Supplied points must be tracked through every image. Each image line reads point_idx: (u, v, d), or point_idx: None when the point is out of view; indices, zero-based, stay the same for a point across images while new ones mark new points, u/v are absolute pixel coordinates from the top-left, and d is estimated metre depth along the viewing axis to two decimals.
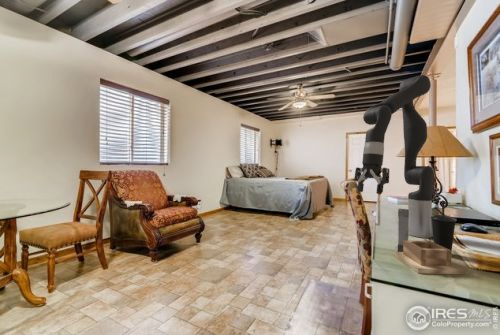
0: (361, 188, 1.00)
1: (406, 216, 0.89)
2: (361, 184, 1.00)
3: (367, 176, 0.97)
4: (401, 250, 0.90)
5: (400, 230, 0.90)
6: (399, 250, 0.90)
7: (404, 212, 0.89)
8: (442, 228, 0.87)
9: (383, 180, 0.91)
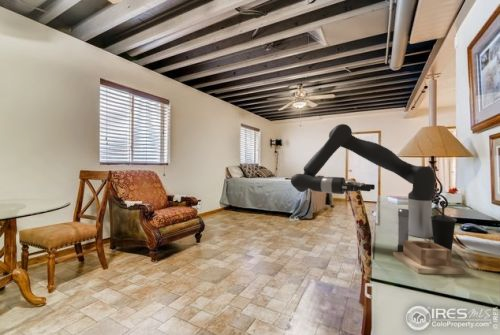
0: (370, 187, 1.01)
1: (406, 216, 0.89)
2: None
3: None
4: (401, 250, 0.90)
5: (400, 230, 0.90)
6: (399, 250, 0.90)
7: (404, 212, 0.89)
8: (442, 228, 0.87)
9: None
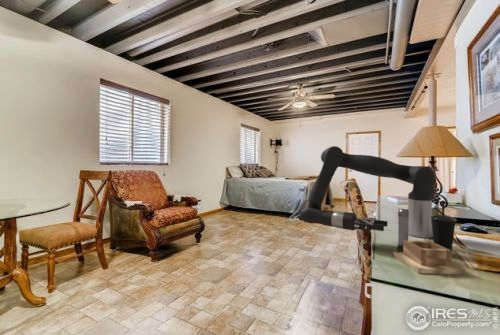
0: (383, 223, 0.99)
1: (406, 216, 0.89)
2: (378, 223, 1.00)
3: None
4: (401, 250, 0.90)
5: (400, 230, 0.90)
6: (399, 250, 0.90)
7: (404, 212, 0.89)
8: (442, 228, 0.87)
9: None
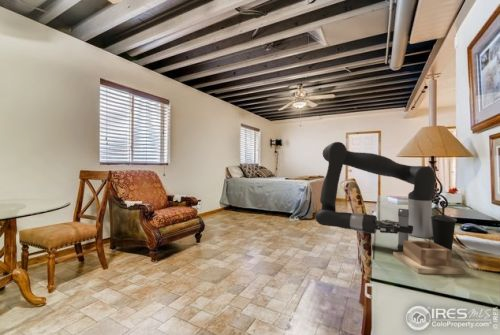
0: None
1: (406, 216, 0.89)
2: None
3: None
4: (401, 250, 0.90)
5: None
6: (399, 250, 0.90)
7: (404, 212, 0.89)
8: (442, 228, 0.87)
9: None
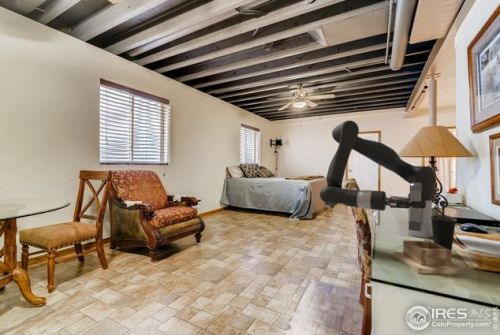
0: None
1: (418, 190, 0.82)
2: None
3: None
4: (413, 227, 0.83)
5: None
6: (410, 227, 0.83)
7: (417, 186, 0.82)
8: (442, 228, 0.87)
9: (406, 208, 0.82)
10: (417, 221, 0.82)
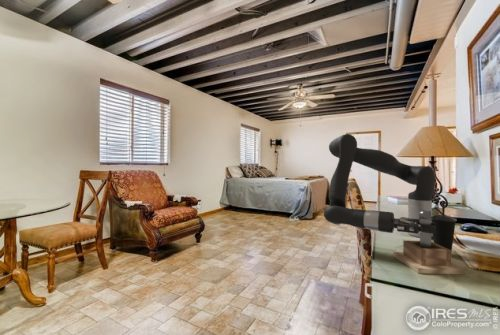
0: (430, 226, 0.81)
1: (429, 218, 0.78)
2: None
3: None
4: None
5: (422, 235, 0.79)
6: None
7: (427, 214, 0.78)
8: (442, 228, 0.87)
9: None
10: None
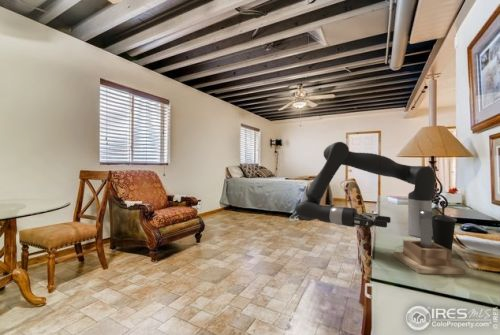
0: (386, 219, 0.90)
1: (430, 219, 0.78)
2: (380, 219, 0.92)
3: None
4: None
5: (423, 235, 0.79)
6: None
7: (428, 214, 0.78)
8: (442, 228, 0.87)
9: None
10: None
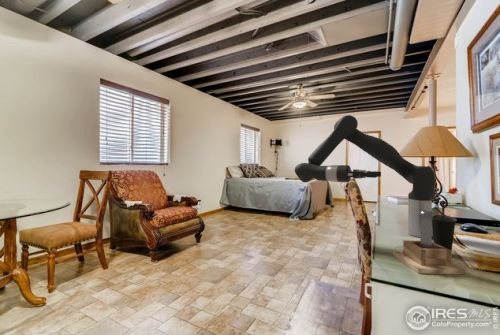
0: (377, 174, 0.99)
1: (430, 219, 0.78)
2: None
3: None
4: None
5: (423, 235, 0.79)
6: None
7: (428, 214, 0.78)
8: (442, 228, 0.87)
9: (360, 177, 0.93)
10: None
